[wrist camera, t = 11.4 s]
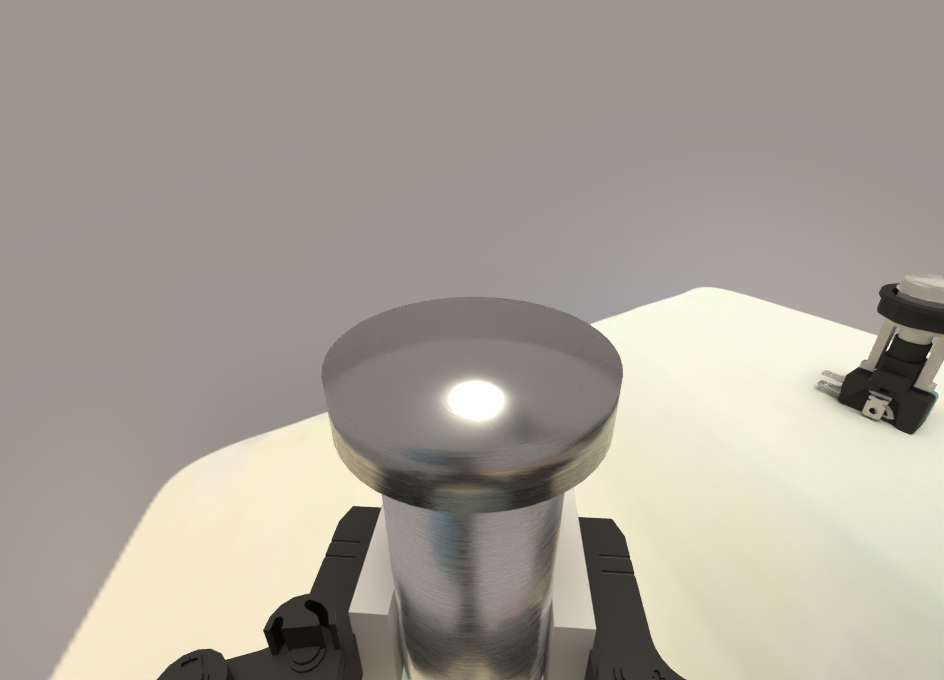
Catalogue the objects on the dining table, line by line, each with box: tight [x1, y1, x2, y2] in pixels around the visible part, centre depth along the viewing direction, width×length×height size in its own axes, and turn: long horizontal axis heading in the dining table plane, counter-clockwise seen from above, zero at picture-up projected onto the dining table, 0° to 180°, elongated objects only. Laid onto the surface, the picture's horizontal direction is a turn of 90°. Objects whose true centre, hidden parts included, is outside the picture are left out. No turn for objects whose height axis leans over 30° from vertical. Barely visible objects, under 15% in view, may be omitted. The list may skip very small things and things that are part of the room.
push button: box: [818, 274, 944, 433], centre depth 32 cm, size 7×5×10 cm
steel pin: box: [322, 297, 623, 680], centre depth 10 cm, size 4×4×15 cm
